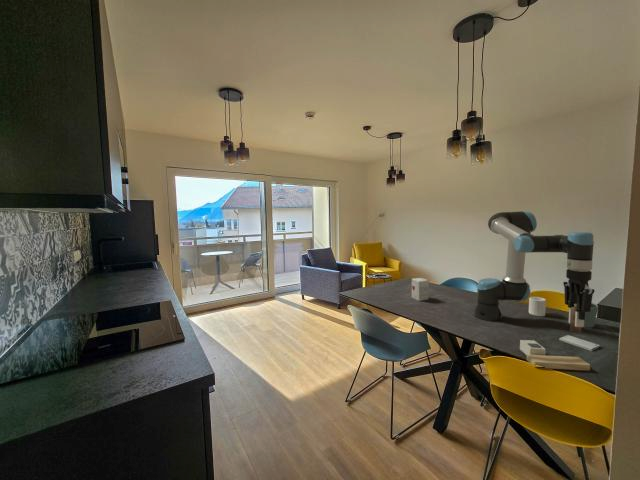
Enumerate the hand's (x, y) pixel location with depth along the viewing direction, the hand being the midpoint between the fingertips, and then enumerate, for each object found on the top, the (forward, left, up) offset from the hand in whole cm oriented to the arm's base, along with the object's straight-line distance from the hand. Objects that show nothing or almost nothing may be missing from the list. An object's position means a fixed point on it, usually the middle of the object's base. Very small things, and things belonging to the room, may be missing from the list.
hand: (575, 324), depth 113 cm
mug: (-60, +21, -18) cm, 66 cm away
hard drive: (-20, +16, -18) cm, 31 cm away
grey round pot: (-44, +35, -18) cm, 59 cm away
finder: (-7, -12, -17) cm, 22 cm away
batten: (+2, -7, -17) cm, 19 cm away
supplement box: (-85, -46, -18) cm, 99 cm away
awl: (0, 0, -3) cm, 3 cm away
